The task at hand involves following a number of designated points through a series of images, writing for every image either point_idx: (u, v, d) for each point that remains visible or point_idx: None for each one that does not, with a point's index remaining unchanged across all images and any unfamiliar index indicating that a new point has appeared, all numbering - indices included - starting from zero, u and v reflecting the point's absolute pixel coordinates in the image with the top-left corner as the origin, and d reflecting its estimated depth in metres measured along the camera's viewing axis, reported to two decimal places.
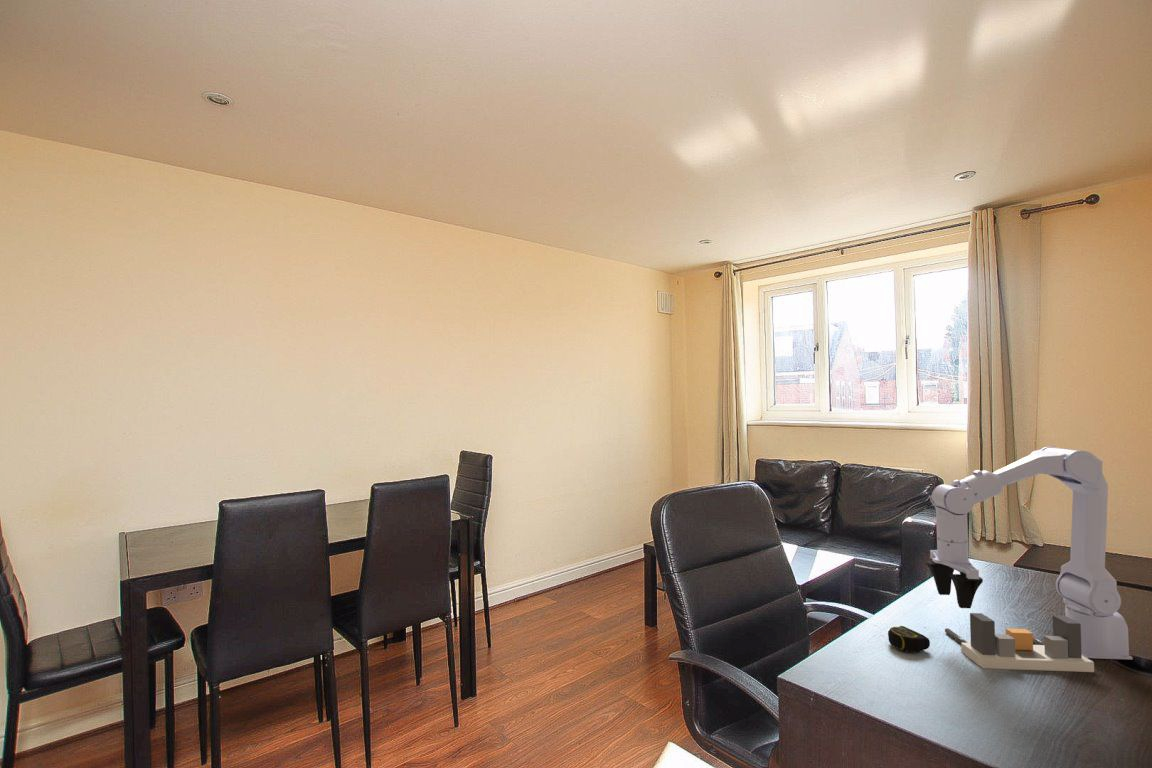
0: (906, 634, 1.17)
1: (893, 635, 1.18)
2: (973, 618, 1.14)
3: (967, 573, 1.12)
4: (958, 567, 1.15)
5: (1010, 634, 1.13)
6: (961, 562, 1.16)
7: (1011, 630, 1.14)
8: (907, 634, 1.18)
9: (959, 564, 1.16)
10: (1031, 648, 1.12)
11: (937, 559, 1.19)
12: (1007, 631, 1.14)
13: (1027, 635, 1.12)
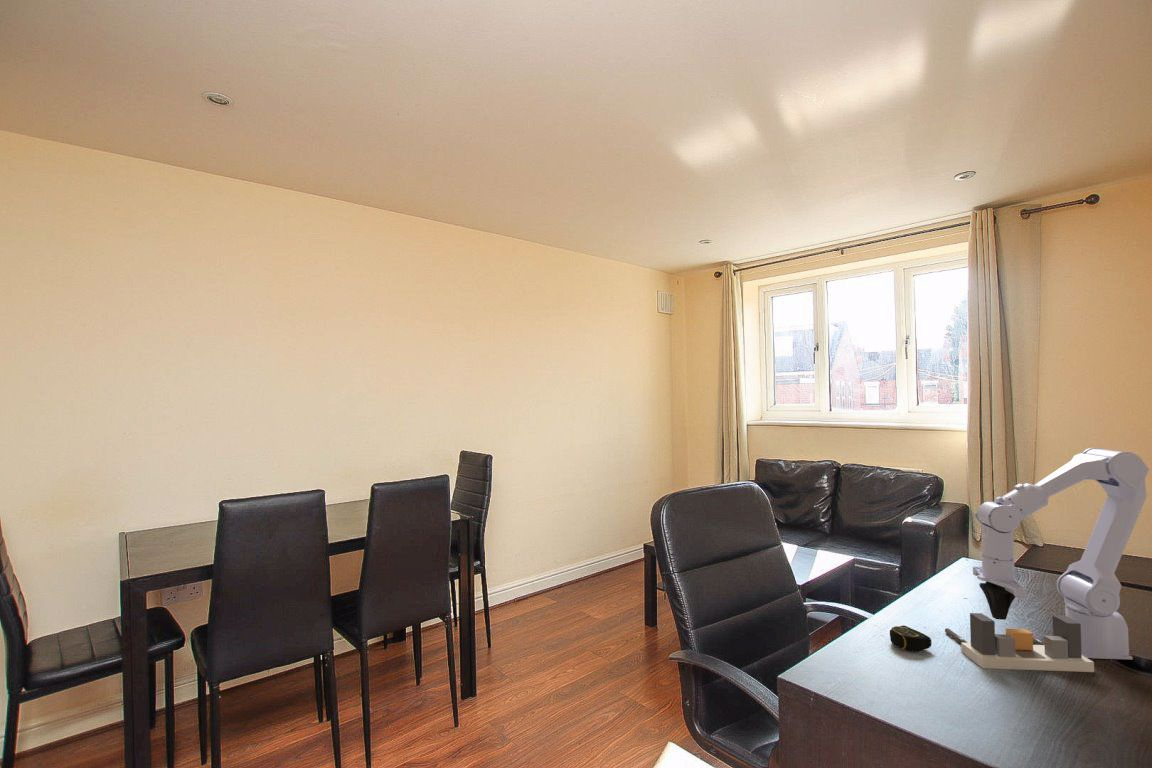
0: (908, 633, 1.18)
1: (895, 634, 1.18)
2: (973, 618, 1.14)
3: (1015, 591, 1.13)
4: (1005, 585, 1.15)
5: (1010, 634, 1.13)
6: (1007, 580, 1.17)
7: (1011, 630, 1.14)
8: (908, 633, 1.18)
9: (1005, 582, 1.17)
10: (1031, 648, 1.12)
11: (982, 576, 1.20)
12: (1007, 631, 1.14)
13: (1027, 635, 1.12)
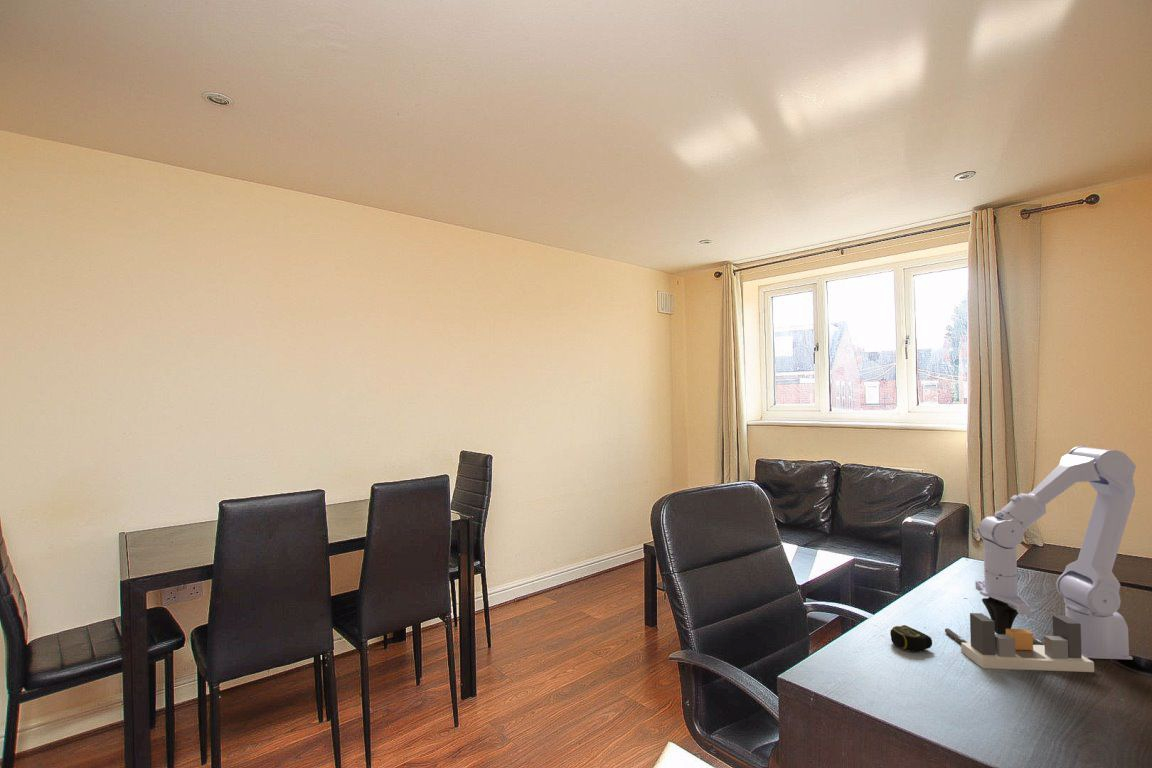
0: (909, 633, 1.18)
1: (895, 634, 1.18)
2: (973, 618, 1.14)
3: (1018, 608, 1.12)
4: (1008, 601, 1.14)
5: (1010, 634, 1.13)
6: (1010, 596, 1.16)
7: (1011, 630, 1.14)
8: (909, 633, 1.18)
9: (1008, 598, 1.16)
10: (1031, 648, 1.12)
11: (985, 592, 1.19)
12: (1007, 631, 1.14)
13: (1027, 635, 1.12)
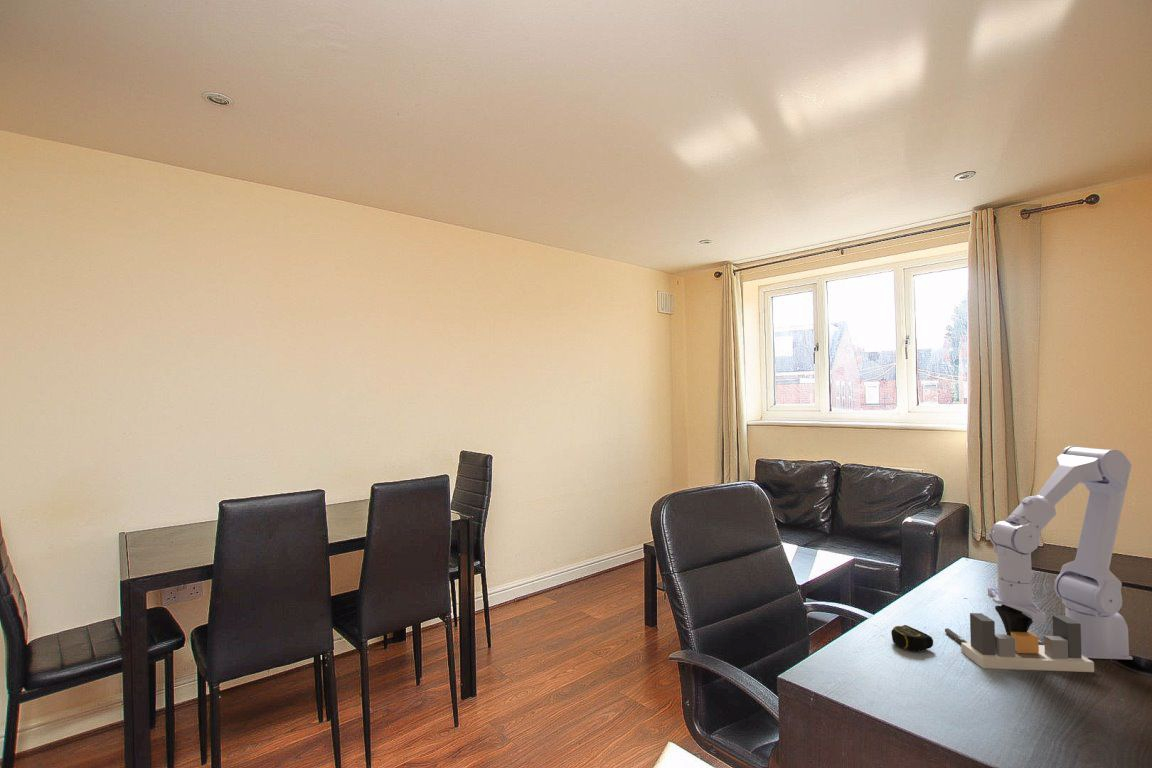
0: (910, 633, 1.18)
1: (896, 634, 1.18)
2: (973, 618, 1.14)
3: (1033, 616, 1.08)
4: (1023, 609, 1.10)
5: (1015, 637, 1.12)
6: (1025, 604, 1.12)
7: (1016, 633, 1.12)
8: (910, 633, 1.18)
9: (1023, 606, 1.11)
10: (1036, 651, 1.11)
11: (998, 599, 1.15)
12: (1012, 634, 1.12)
13: (1032, 638, 1.11)
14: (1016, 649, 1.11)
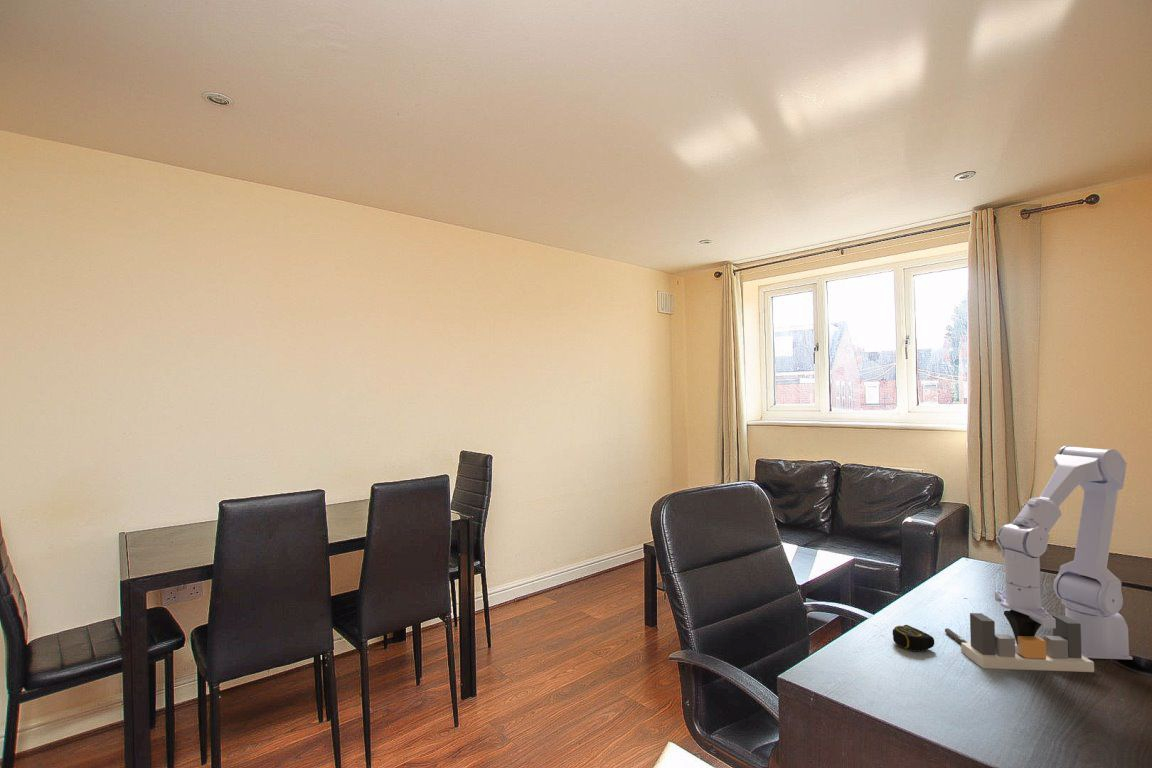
0: (911, 633, 1.18)
1: (897, 634, 1.18)
2: (973, 618, 1.14)
3: (1043, 622, 1.05)
4: (1032, 614, 1.08)
5: (1022, 642, 1.10)
6: (1034, 608, 1.09)
7: (1023, 638, 1.10)
8: (911, 633, 1.18)
9: (1032, 610, 1.09)
10: (1044, 656, 1.09)
11: (1006, 604, 1.12)
12: (1019, 639, 1.10)
13: (1040, 643, 1.09)
14: (1023, 654, 1.09)
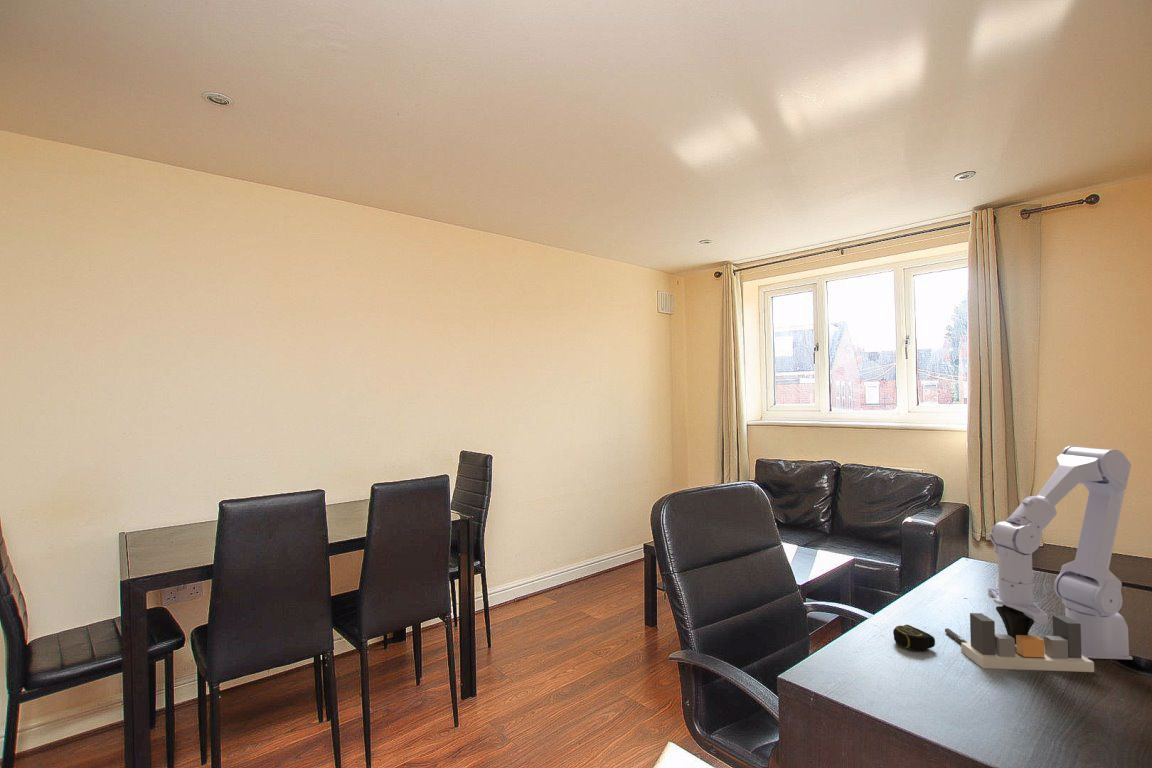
0: (912, 633, 1.18)
1: (898, 633, 1.18)
2: (973, 618, 1.14)
3: (1035, 617, 1.07)
4: (1024, 610, 1.10)
5: (1021, 641, 1.10)
6: (1026, 604, 1.11)
7: (1022, 637, 1.11)
8: (912, 632, 1.18)
9: (1024, 606, 1.11)
10: (1042, 655, 1.09)
11: (999, 600, 1.14)
12: (1017, 638, 1.11)
13: (1038, 642, 1.09)
14: (1021, 653, 1.10)
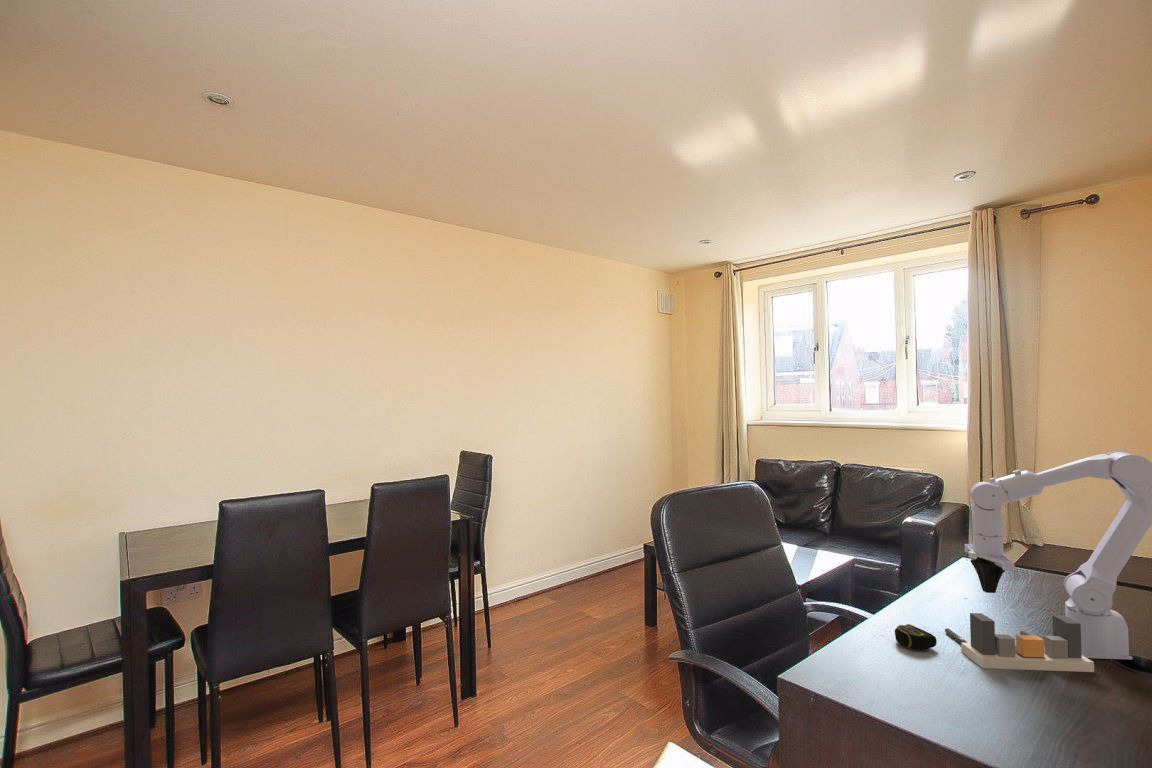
0: (913, 632, 1.18)
1: (900, 633, 1.19)
2: (973, 618, 1.14)
3: (1003, 565, 1.19)
4: (994, 560, 1.21)
5: (1021, 641, 1.10)
6: (997, 555, 1.23)
7: (1022, 637, 1.11)
8: (913, 632, 1.18)
9: (995, 557, 1.23)
10: (1042, 655, 1.09)
11: (973, 552, 1.26)
12: (1017, 638, 1.11)
13: (1038, 642, 1.09)
14: (1021, 653, 1.10)
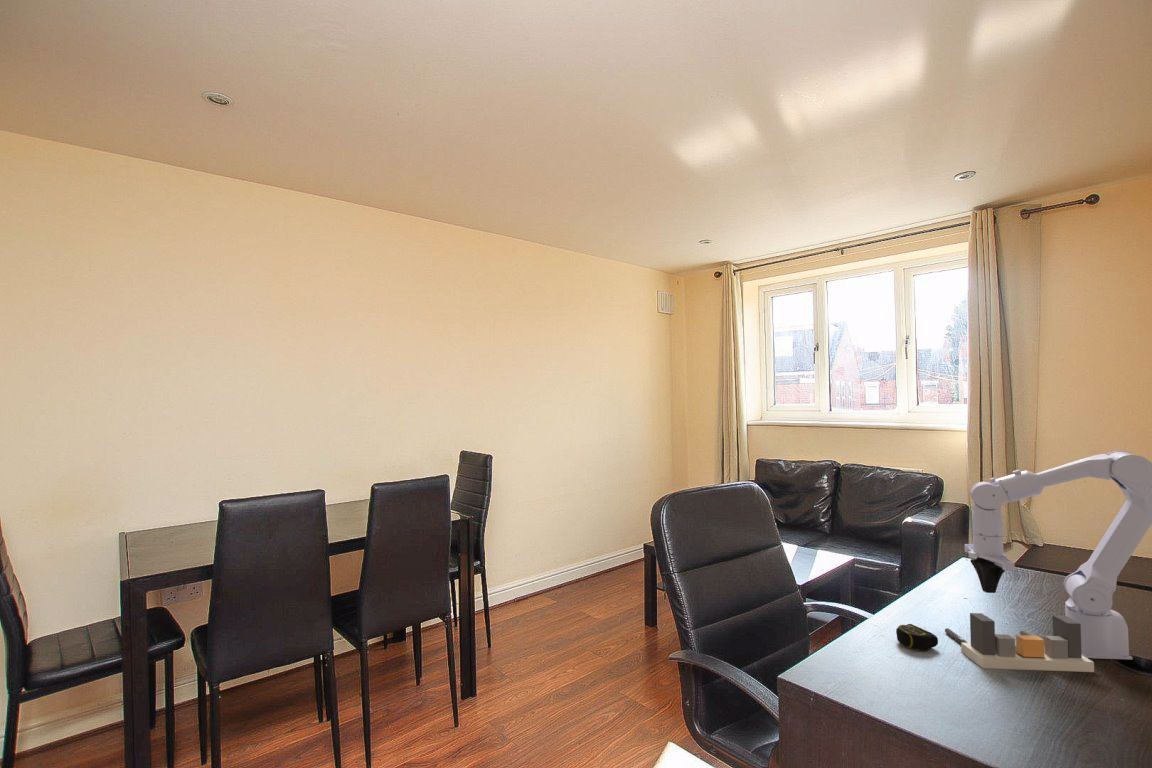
0: (914, 632, 1.18)
1: (901, 632, 1.19)
2: (973, 618, 1.14)
3: (1003, 565, 1.19)
4: (994, 560, 1.21)
5: (1021, 641, 1.10)
6: (997, 555, 1.23)
7: (1022, 637, 1.11)
8: (915, 632, 1.19)
9: (995, 557, 1.23)
10: (1042, 655, 1.09)
11: (973, 552, 1.26)
12: (1017, 638, 1.11)
13: (1038, 642, 1.09)
14: (1021, 653, 1.10)
